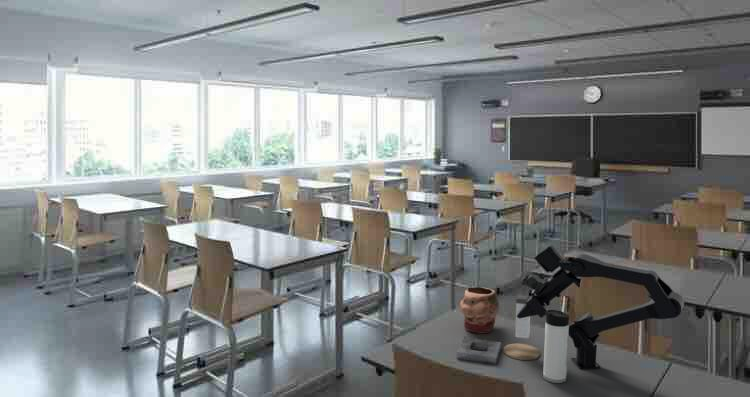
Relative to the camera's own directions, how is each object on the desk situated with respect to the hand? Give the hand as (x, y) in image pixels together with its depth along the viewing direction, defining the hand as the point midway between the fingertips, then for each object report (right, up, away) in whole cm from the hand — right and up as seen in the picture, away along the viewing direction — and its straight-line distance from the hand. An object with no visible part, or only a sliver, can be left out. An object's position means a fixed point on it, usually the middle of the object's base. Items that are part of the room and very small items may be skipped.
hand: (518, 314), depth 170 cm
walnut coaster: (+1, -12, +1) cm, 12 cm away
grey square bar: (+1, -7, +1) cm, 7 cm away
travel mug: (+6, -15, -16) cm, 22 cm away
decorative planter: (-8, -9, +22) cm, 25 cm away
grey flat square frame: (-12, -12, +1) cm, 17 cm away
